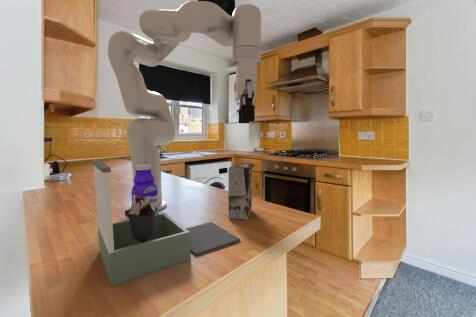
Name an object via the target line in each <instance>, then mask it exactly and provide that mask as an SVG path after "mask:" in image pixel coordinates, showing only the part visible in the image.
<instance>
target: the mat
mask: <svg viewBox="0 0 476 317" xmlns="http://www.w3.org/2000/svg"><path fill="white" fill-rule="evenodd" d="M185 229H187V230H188V231H189V232H190V253H192V254H193V255H194V256H196V257H198V256H200V255H204V254H207V253H209V252H212V251H215V250H218V249H221V248H224V247H227V246H230V245H233V244H236V243H238V242H241V238H240V237H238V236H237V235H234V234H233V233H231V232H229V231H227V230H226V229H224V228H223V227H221V226H219V225H217V224H216V223H214V222H212V221H210V222H206V223H202V224H198V225H194V226H191V227H186V228H185Z"/></svg>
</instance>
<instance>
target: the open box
mask: <svg viewBox="0 0 476 317" xmlns="http://www.w3.org/2000/svg"><path fill="white" fill-rule="evenodd" d="M91 163H92V164H93V177H94V188H95V202H96V217H97V232H98V234H97V235H98V247H99V254H100V258H101V260H102V263H103V267H104V269H105V272H106V276H107V279H108V282H109V284H110V287H115V286H117V285H120V284H122V283H125V282H128V281H132V280H134V279H138V278H140V277H143V276H146V275H149V274H152V273H156V272H157V271H160V270H163V269H167V268H169V267H174V266H175V265H178V264H181V263H184V262H187V261H190V260H191V253H192V252H191V251H190V232H189V231H188V230H187V229H186V228H185V227H184V226H183V225H182V224H180V223H179V222H177V221H176V220H175V219H174V218H173V217H171V216H170V215H169V214H167V213H166V212H162V213H159V214H157V215H155V219H154V229H153V234H152V235H151V236H150V238H148V239H147V240H146V242H144V243H141V242H140V241H139V240H137V239H135V238H134V237H133V234H132V230H131V225H130V220H129V219H128V220H123V221H118V222H113V211H112V210H113V209H112V196H111V195H112V194H111V192H112V191H111V177H110V176H111V175H110V173H112V171H111V170H112V169H111V166H109V165H108V164H106V163H105V162H103V161H101V159H92V162H91Z"/></svg>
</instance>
